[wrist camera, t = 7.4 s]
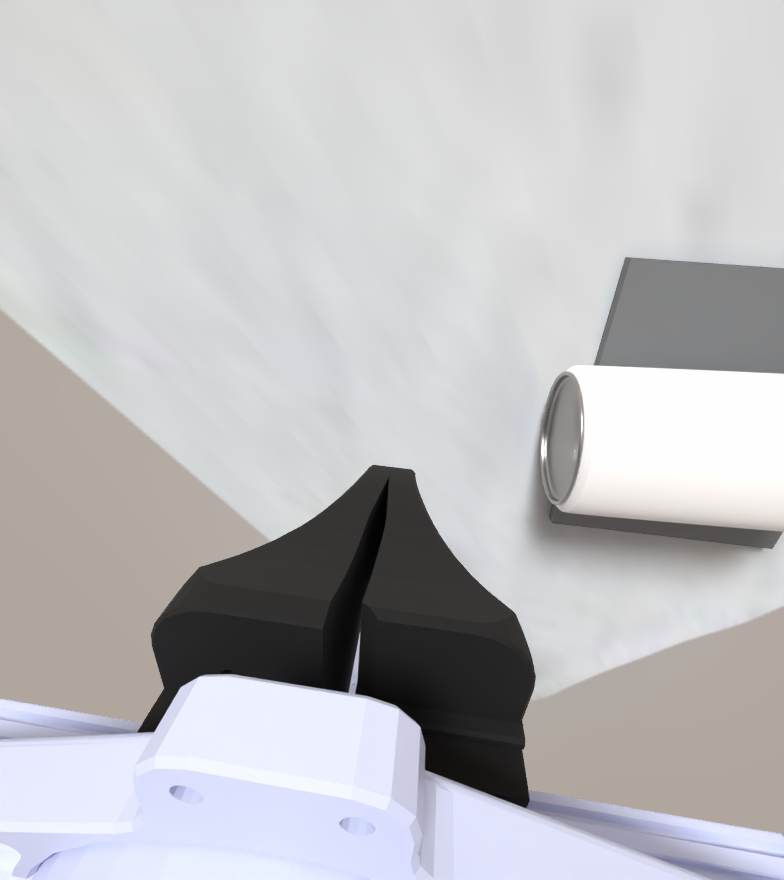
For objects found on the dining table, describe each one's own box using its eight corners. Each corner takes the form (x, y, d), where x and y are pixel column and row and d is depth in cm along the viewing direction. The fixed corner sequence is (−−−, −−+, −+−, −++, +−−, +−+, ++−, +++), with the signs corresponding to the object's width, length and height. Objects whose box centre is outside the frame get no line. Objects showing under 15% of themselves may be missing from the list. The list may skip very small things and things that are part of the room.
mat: (764, 541, 23) (772, 548, 22) (549, 516, 24) (552, 522, 23) (925, 278, 17) (940, 279, 16) (625, 257, 18) (631, 257, 17)
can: (532, 476, 22) (775, 494, 21) (564, 542, 16) (913, 574, 14) (550, 355, 20) (823, 366, 18) (595, 378, 14) (1007, 397, 12)
